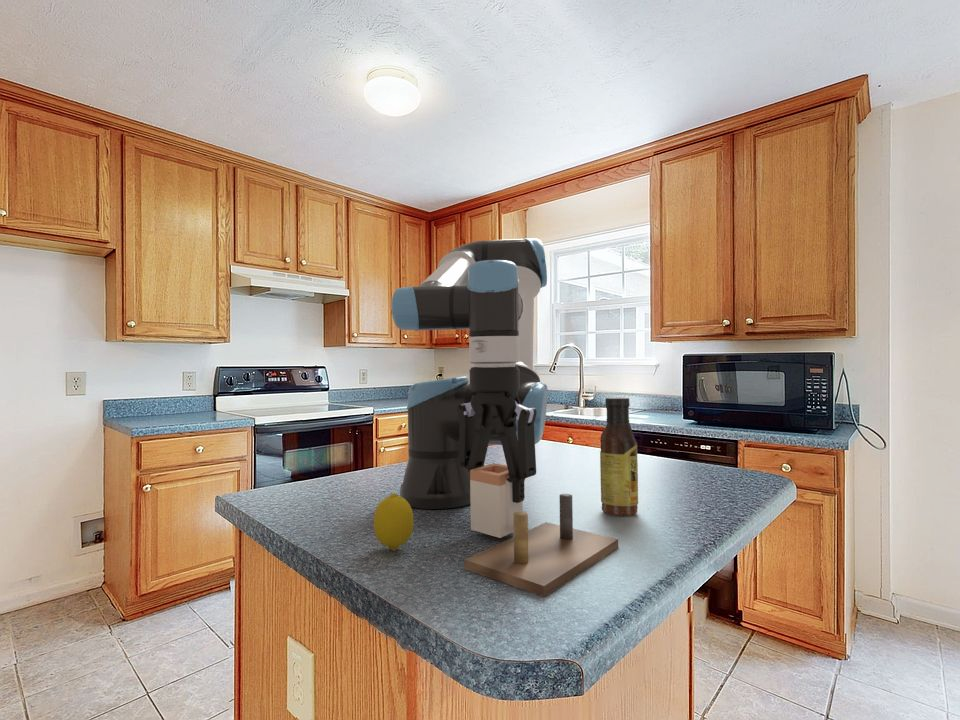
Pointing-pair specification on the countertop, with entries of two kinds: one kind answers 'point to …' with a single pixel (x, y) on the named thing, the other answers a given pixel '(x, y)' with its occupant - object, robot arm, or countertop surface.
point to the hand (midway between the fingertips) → (496, 518)
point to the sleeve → (489, 500)
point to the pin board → (542, 553)
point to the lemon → (393, 521)
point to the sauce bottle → (618, 461)
